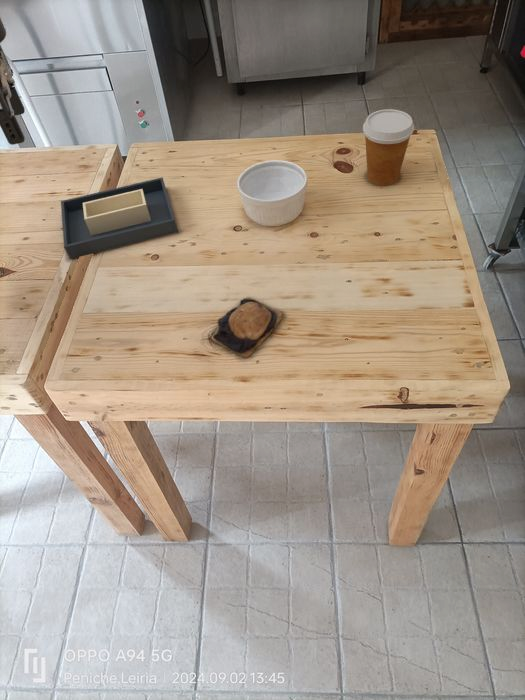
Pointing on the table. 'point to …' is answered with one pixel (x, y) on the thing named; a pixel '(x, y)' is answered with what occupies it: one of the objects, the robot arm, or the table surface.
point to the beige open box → (116, 212)
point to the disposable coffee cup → (386, 144)
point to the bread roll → (246, 327)
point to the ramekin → (273, 192)
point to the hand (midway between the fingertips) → (18, 127)
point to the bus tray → (85, 244)
